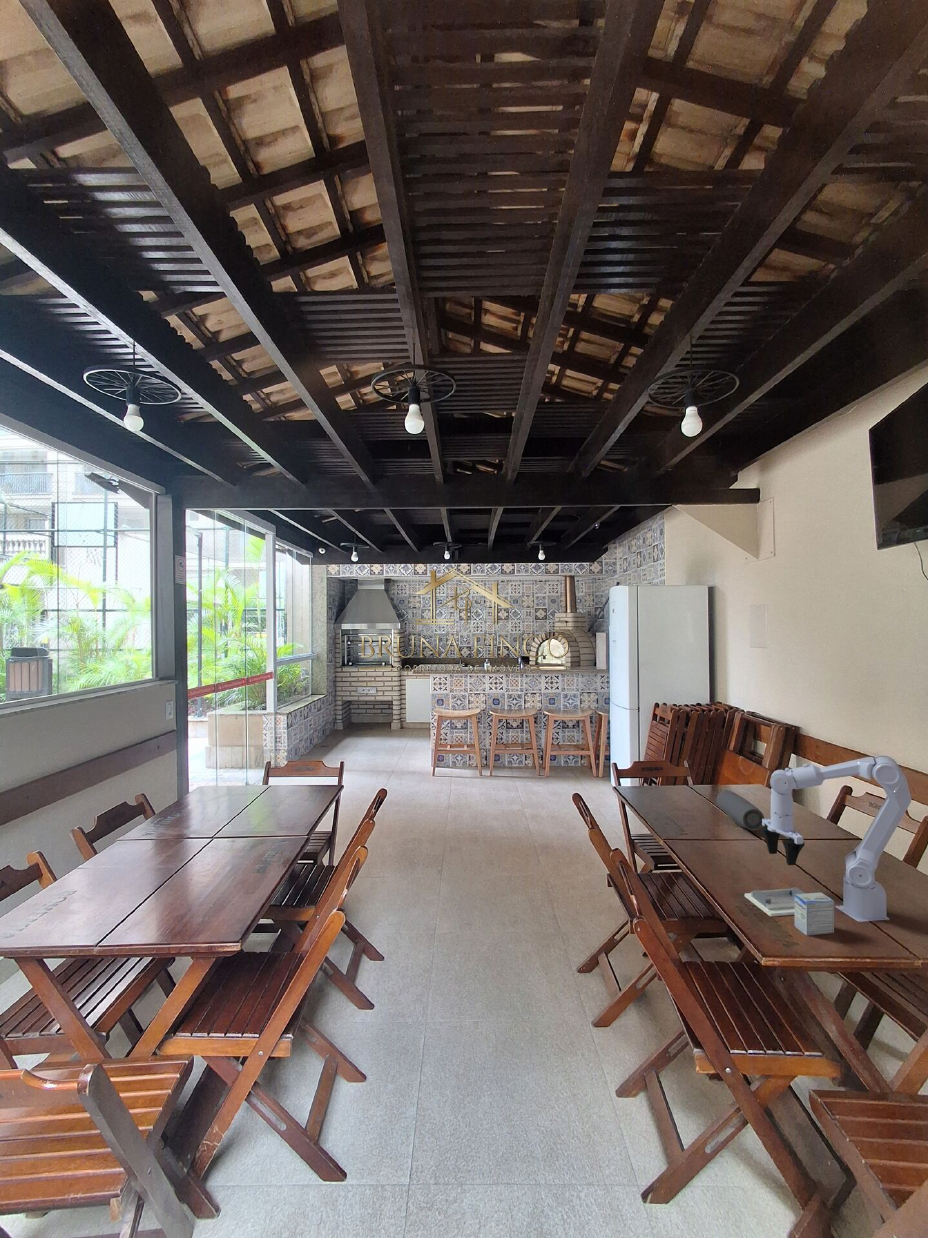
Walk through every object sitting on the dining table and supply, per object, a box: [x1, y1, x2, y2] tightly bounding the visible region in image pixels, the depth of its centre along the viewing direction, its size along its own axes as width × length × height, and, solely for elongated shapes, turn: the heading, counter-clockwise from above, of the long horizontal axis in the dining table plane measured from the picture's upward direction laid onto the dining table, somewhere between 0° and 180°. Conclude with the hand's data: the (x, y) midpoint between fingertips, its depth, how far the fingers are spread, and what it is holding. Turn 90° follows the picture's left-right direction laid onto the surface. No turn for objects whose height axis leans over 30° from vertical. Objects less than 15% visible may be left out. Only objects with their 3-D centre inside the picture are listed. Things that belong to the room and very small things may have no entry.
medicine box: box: [794, 892, 835, 936], centre depth 143 cm, size 8×4×9 cm, turn 98°
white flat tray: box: [744, 886, 807, 917], centre depth 156 cm, size 15×11×3 cm
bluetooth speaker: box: [715, 789, 766, 831], centre depth 218 cm, size 23×9×10 cm, turn 179°
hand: (781, 859), depth 161 cm, fingers open, 7 cm apart
